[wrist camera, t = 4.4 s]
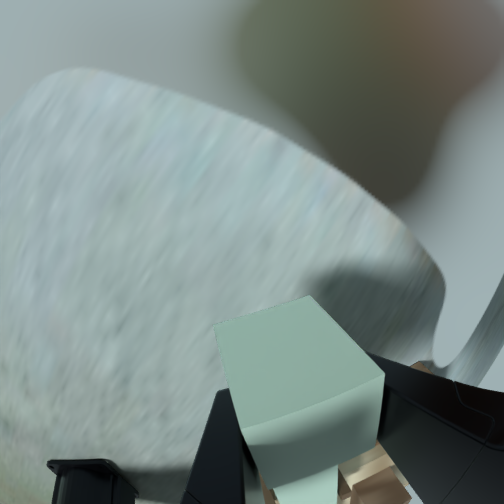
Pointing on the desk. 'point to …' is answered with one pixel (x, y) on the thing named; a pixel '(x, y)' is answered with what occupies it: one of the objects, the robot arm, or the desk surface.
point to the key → (300, 396)
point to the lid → (372, 479)
